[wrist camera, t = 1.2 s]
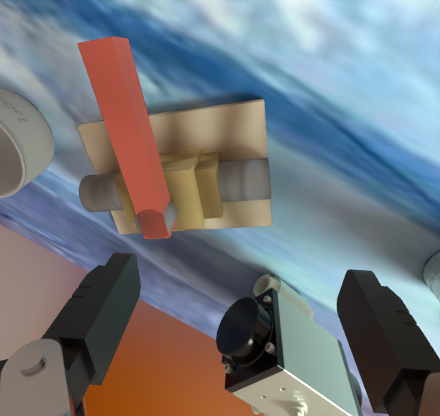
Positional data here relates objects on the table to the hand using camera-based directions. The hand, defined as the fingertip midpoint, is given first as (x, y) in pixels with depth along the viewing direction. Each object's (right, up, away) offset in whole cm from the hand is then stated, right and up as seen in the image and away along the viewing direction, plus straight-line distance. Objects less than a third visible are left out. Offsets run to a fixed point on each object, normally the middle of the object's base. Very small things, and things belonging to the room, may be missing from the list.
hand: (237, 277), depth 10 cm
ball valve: (+9, -10, +32) cm, 34 cm away
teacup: (-26, +13, +23) cm, 37 cm away
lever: (-7, +8, +13) cm, 16 cm away
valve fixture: (-5, +7, +23) cm, 25 cm away
